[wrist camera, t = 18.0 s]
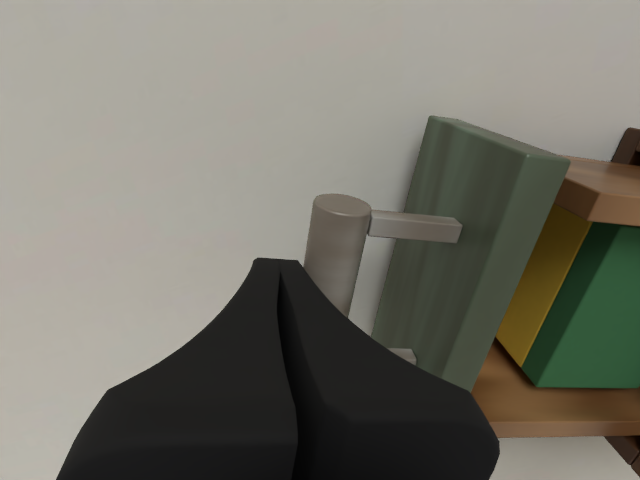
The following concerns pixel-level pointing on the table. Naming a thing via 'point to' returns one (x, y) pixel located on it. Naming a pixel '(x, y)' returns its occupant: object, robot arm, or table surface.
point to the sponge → (578, 306)
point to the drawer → (476, 268)
